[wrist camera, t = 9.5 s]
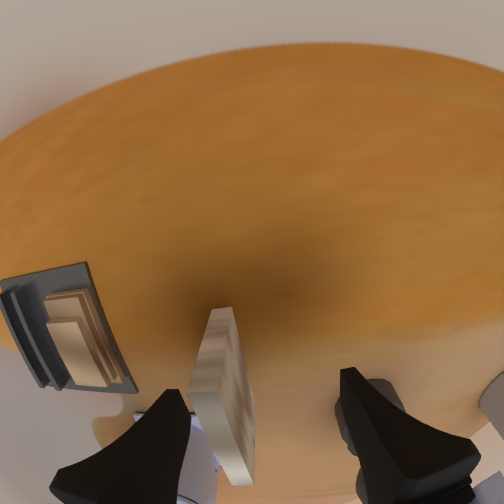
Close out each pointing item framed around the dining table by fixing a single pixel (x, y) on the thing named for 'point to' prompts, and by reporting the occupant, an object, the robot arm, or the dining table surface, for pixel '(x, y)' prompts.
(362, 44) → the dining table surface
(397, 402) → the candle holder
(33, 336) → the rack
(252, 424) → the beige flat block
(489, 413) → the bottle
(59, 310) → the offcut stack
